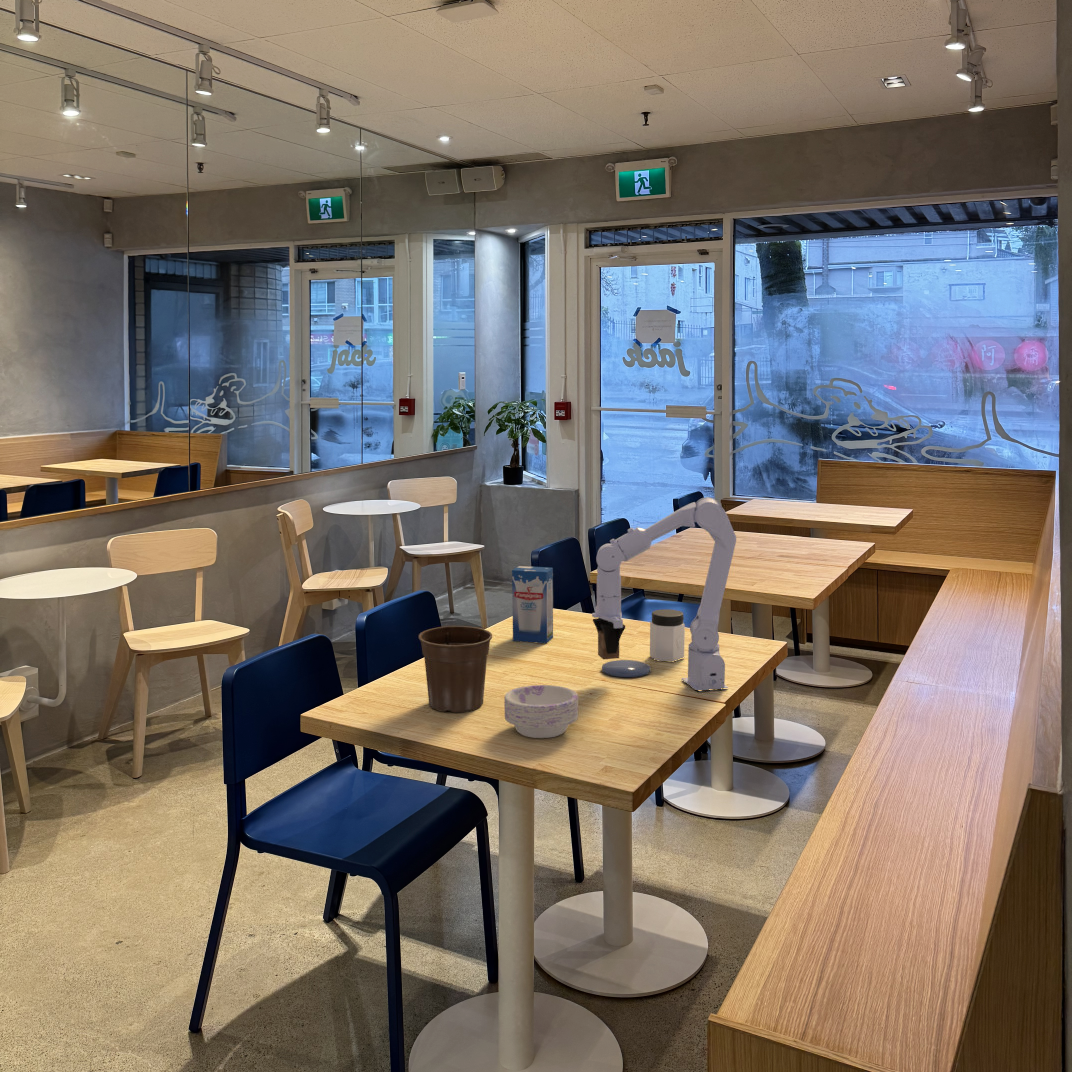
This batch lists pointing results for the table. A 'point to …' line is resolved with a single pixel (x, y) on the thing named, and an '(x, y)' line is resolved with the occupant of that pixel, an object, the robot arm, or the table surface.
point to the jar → (667, 635)
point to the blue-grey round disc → (626, 668)
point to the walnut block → (602, 648)
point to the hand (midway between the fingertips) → (608, 650)
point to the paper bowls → (541, 710)
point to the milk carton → (532, 604)
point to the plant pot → (455, 666)
